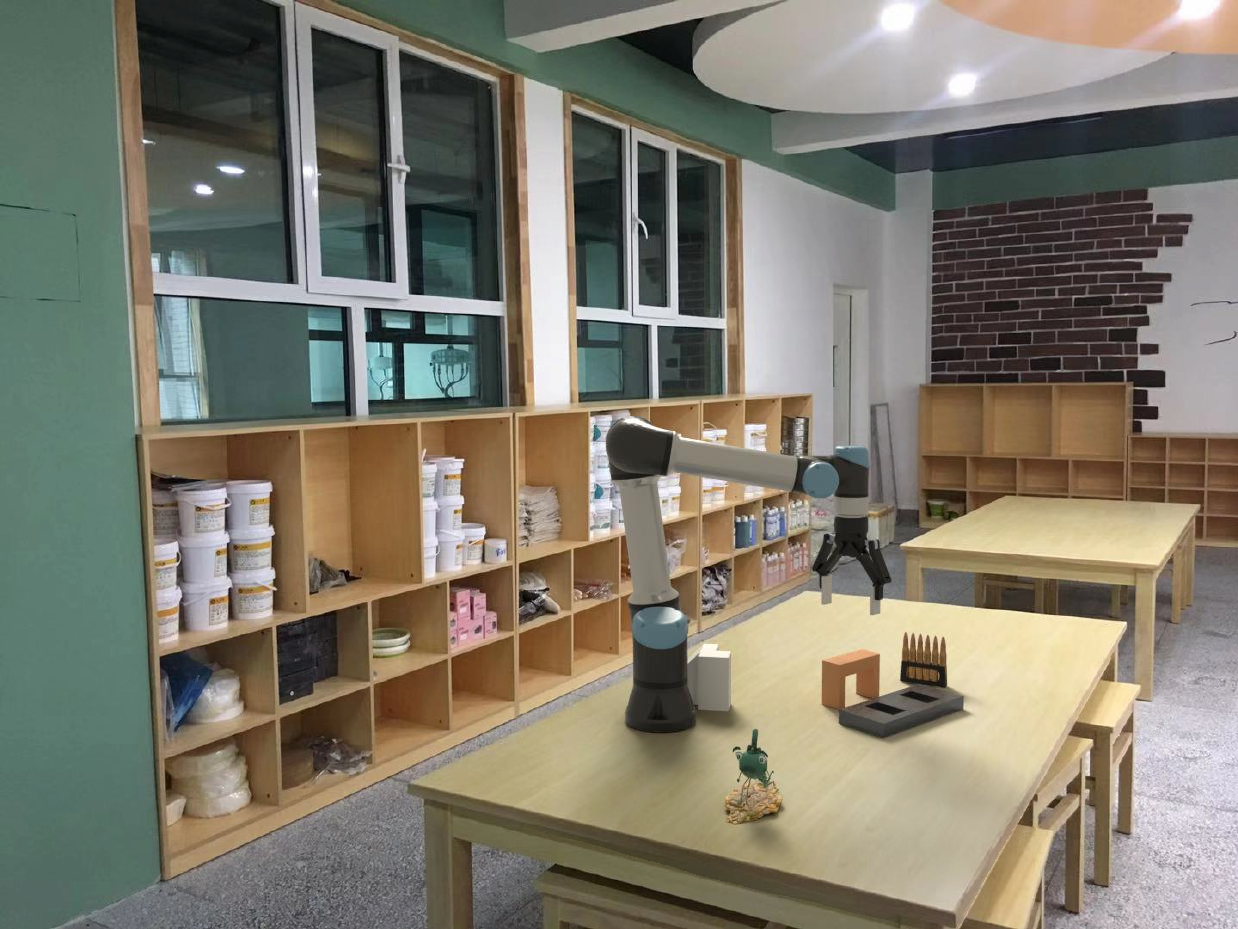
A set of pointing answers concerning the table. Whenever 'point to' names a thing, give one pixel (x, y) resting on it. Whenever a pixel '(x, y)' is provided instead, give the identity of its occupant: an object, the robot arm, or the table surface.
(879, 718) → the gray slotted base board
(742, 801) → the green creature figurine
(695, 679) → the corner bracket
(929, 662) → the ammunition clip
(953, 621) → the table surface
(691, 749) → the table surface
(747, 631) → the table surface
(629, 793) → the table surface
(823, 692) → the clip
